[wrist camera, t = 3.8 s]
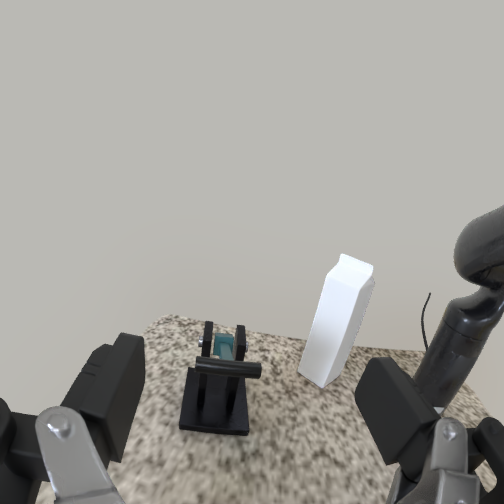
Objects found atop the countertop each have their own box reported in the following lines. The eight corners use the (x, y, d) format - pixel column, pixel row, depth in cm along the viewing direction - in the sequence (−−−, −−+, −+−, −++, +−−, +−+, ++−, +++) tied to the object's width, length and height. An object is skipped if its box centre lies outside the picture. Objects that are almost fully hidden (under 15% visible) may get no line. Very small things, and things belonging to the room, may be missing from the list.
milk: (322, 389, 42) (366, 268, 36) (295, 371, 46) (330, 254, 40) (340, 375, 46) (381, 264, 40) (315, 359, 50) (349, 251, 44)
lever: (259, 386, 22) (263, 359, 22) (193, 379, 21) (196, 352, 21) (242, 353, 34) (245, 335, 35) (200, 348, 34) (202, 330, 34)
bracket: (247, 436, 31) (267, 367, 27) (179, 429, 30) (180, 358, 26) (243, 379, 42) (257, 312, 39) (188, 372, 41) (193, 304, 38)
